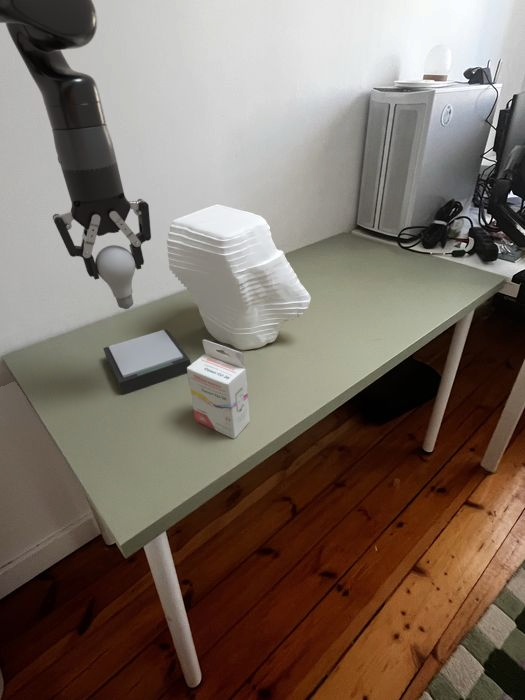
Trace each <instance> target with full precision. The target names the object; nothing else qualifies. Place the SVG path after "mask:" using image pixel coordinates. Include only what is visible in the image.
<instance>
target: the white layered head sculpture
mask: <svg viewBox="0 0 525 700" xmlns="http://www.w3.org/2000/svg"><path fill="white" fill-rule="evenodd" d="M272 234H273V233H272V232H271V226H270V225H269V224H268V222H267V220H266V219H265V218H264V217H263V216H261V215H260V214H255V213H253V212H250V211H246V210H243V209H238V208H234V207H230V206H227V205H222V204H218V203H216V204H213V205H210V206H207V207H205V208H202V209H200V210H196V211H194V212H191V213H189V214H186V215H182V216H181V217H178V218H175V219H174V220H172V224H170V225H169V232H168V233H167V235H168V239H166V244H167V247H166V248H167V257H168V259H167V260H168V264H169V265H168V268H169V271H171V273H172V274H173V275H174V276H175V278H177V280H178V281H179V282H180V284H182V285H183V287H185V288H186V290H187V291H188V294H189V297H190V298H191V299H192V301H193V302H194V303H195V304H196V306H197V308H198V311H199V312H198V313H199V314H200V317H201V318H202V321H203V324H204V326H205V327H206V331H207V332H208V333H209V334H210V335H211V336H212V337H213V338H214V339H215V340H217V341H218V342H220V343H224V344H228V345H231V346H232V347H234V348H235V349H237V350H242V351H247V350H252V349H259V348H262V347H264V346H266V345H267V344H270V343H273V342H275V341H276V339H277V338H278V335H279V334H280V332H281V331H282V330H281V329H282V328H283V326H284V324H285V322H288V321H294V320H295V319H297V318H300V317H301V316H303V315H304V313H306V312H307V310H308V309H309V307H310V304H311V299H312V297H311V295H310V293H309V292H308V291H307V288H305V286H304V285H303V284H302V283H301V280H300V279H299V278H298V275H297V274H296V272H295V271H294V268H292V266H291V263H290V262H289V261H288V260H287V258H286V255H285V252H284V251H283V250H281V249H277V247H276V244H275V241H274V240H273V238H272Z"/></svg>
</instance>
